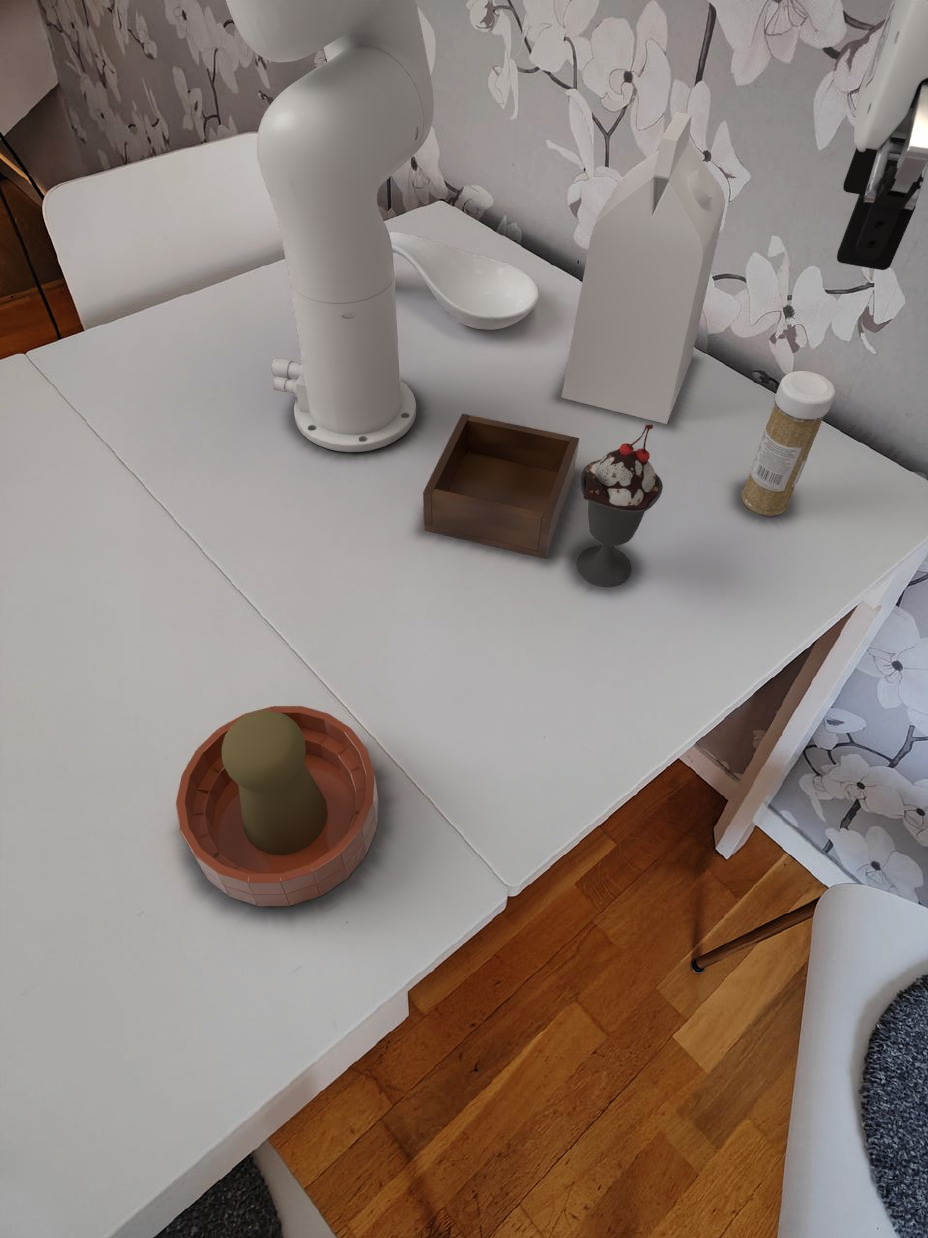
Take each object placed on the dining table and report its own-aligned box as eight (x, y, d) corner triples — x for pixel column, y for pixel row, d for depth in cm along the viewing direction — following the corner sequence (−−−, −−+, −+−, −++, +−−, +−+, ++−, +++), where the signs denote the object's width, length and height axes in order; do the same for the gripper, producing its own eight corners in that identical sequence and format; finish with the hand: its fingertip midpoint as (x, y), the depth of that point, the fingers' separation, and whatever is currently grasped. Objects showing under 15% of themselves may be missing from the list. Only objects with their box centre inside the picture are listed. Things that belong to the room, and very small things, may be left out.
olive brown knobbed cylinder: (245, 780, 64) (214, 698, 55) (328, 774, 64) (310, 692, 56) (239, 858, 60) (204, 783, 52) (327, 852, 61) (307, 776, 52)
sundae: (647, 549, 79) (682, 417, 68) (632, 602, 75) (665, 472, 64) (577, 531, 81) (599, 399, 69) (558, 582, 77) (578, 451, 65)
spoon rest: (549, 300, 105) (554, 243, 99) (518, 355, 98) (522, 296, 92) (369, 262, 110) (365, 205, 104) (328, 311, 103) (321, 253, 97)
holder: (424, 530, 80) (422, 492, 77) (461, 451, 87) (461, 412, 84) (545, 559, 78) (550, 521, 75) (573, 475, 85) (579, 437, 82)
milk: (592, 337, 100) (629, 89, 80) (691, 360, 98) (755, 110, 77) (561, 397, 93) (593, 142, 73) (666, 423, 91) (730, 167, 70)
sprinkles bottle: (797, 506, 83) (848, 389, 73) (763, 524, 82) (810, 408, 71) (763, 478, 86) (807, 362, 75) (729, 496, 84) (769, 379, 73)
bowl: (157, 875, 60) (139, 848, 56) (243, 718, 68) (232, 686, 64) (336, 933, 57) (329, 908, 54) (403, 764, 65) (401, 733, 62)
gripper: (914, -149, 49) (813, 161, 63) (917, -66, 39) (795, 284, 53) (1055, -136, 48) (921, 178, 62) (1096, -47, 38) (925, 307, 51)
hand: (863, 226), depth 57 cm, fingers open, 9 cm apart
